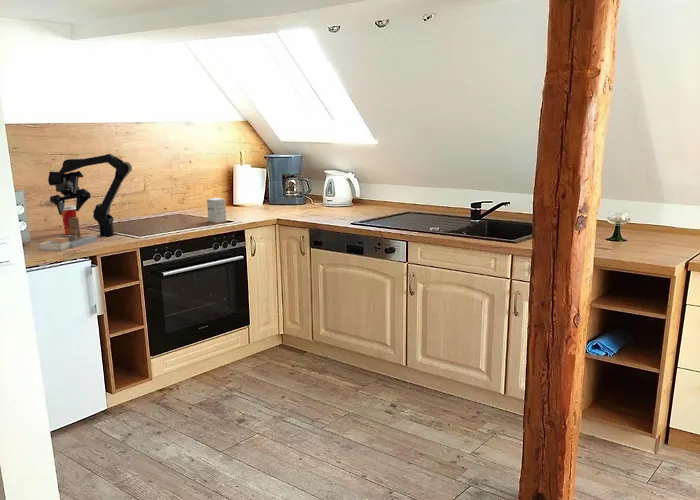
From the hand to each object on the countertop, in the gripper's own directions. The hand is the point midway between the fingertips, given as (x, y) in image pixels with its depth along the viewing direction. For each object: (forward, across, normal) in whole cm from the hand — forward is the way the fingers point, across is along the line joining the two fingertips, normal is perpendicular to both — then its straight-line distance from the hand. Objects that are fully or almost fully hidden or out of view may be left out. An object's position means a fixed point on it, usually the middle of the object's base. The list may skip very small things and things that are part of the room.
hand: (68, 212), depth 294 cm
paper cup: (-1, -15, +22) cm, 27 cm away
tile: (+17, +1, -3) cm, 17 cm away
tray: (+21, 0, -6) cm, 22 cm away
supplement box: (-12, +48, +60) cm, 77 cm away
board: (+15, +1, +3) cm, 15 cm away
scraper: (+13, +2, +3) cm, 14 cm away
